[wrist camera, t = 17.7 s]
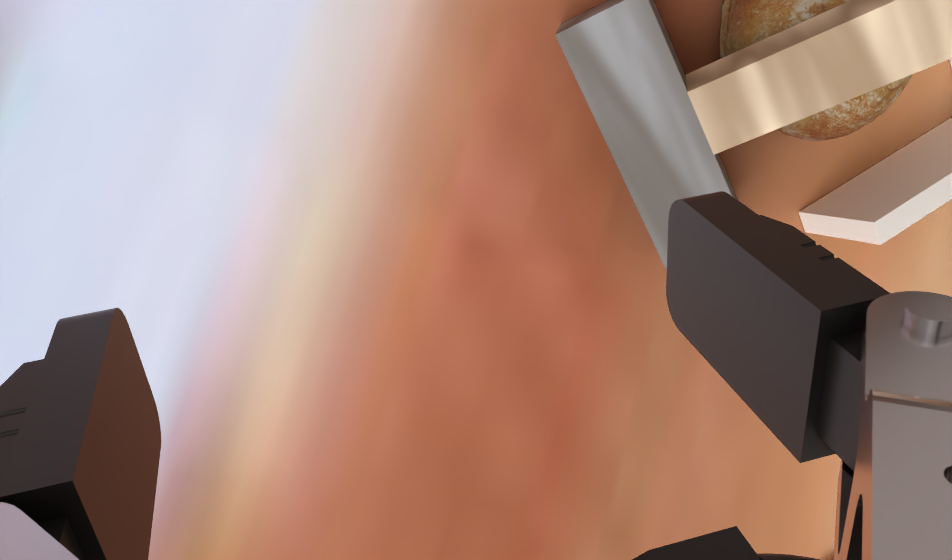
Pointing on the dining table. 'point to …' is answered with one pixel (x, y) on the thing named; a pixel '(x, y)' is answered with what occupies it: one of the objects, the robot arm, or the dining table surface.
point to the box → (888, 192)
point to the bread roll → (776, 9)
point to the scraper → (732, 87)
